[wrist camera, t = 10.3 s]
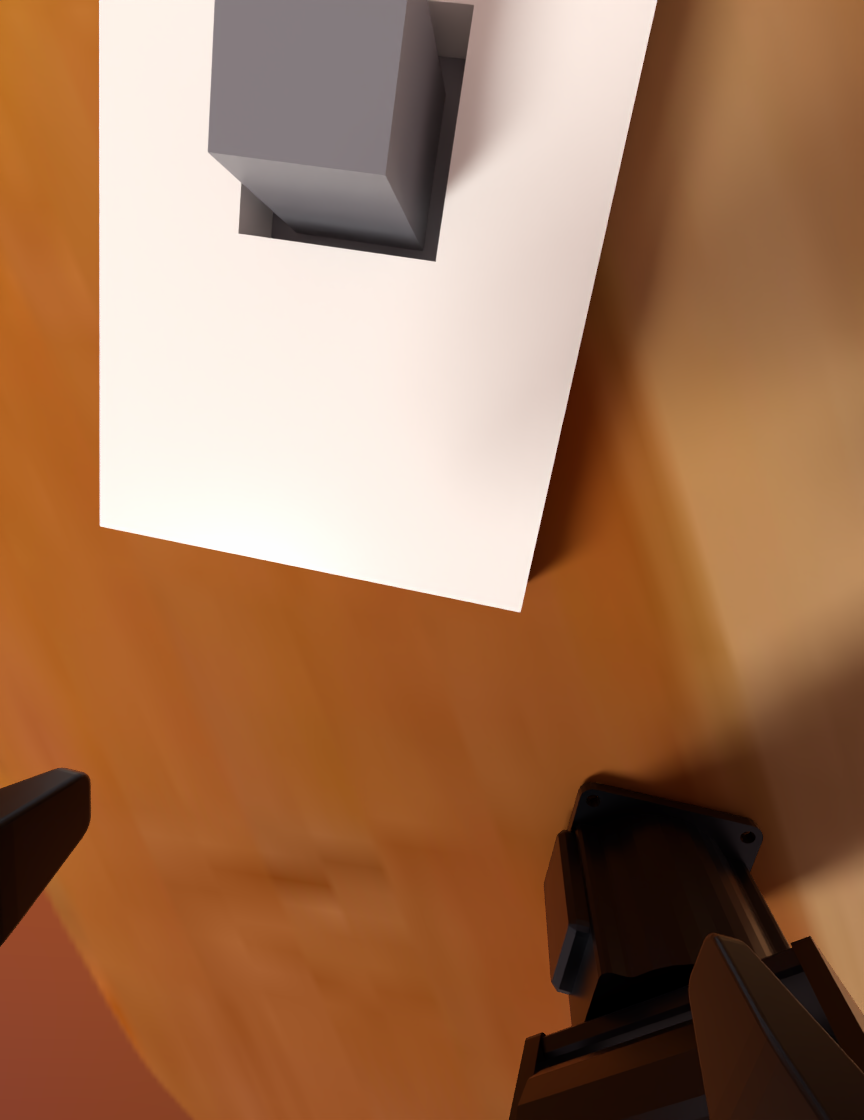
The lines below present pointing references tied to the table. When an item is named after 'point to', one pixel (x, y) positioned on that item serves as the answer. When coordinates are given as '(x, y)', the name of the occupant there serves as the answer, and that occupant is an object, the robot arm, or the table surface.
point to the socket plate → (357, 307)
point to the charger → (330, 113)
